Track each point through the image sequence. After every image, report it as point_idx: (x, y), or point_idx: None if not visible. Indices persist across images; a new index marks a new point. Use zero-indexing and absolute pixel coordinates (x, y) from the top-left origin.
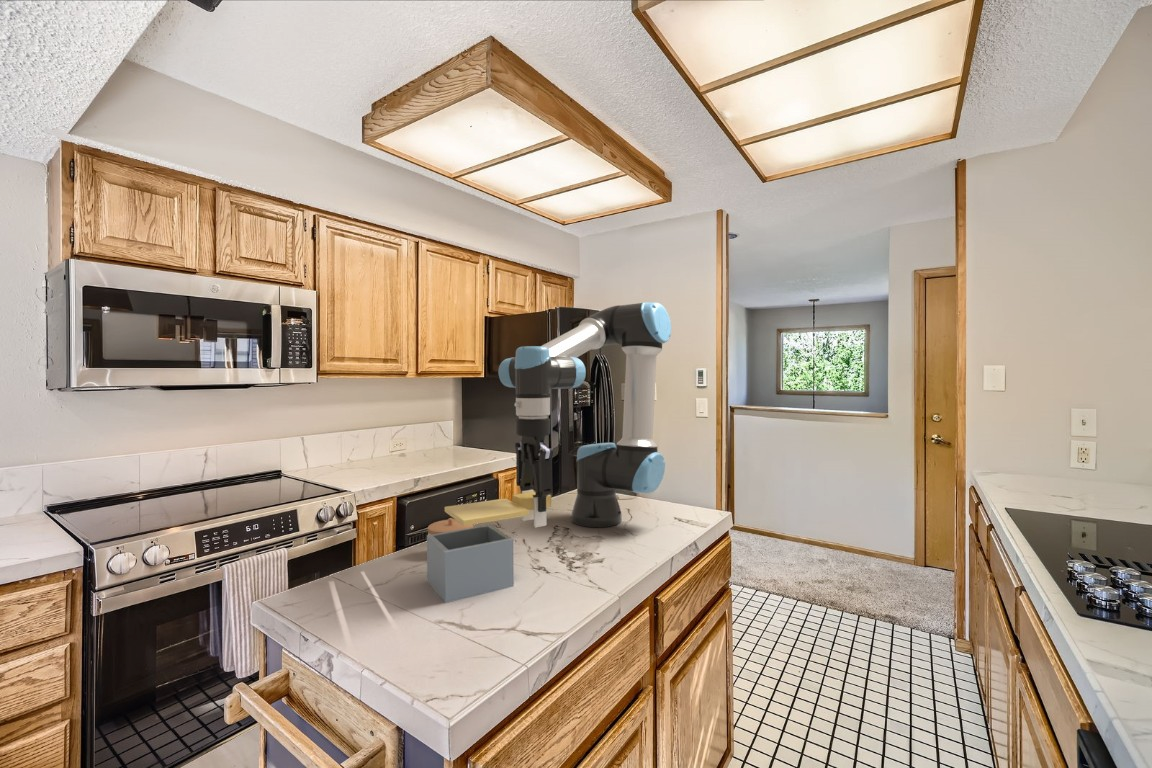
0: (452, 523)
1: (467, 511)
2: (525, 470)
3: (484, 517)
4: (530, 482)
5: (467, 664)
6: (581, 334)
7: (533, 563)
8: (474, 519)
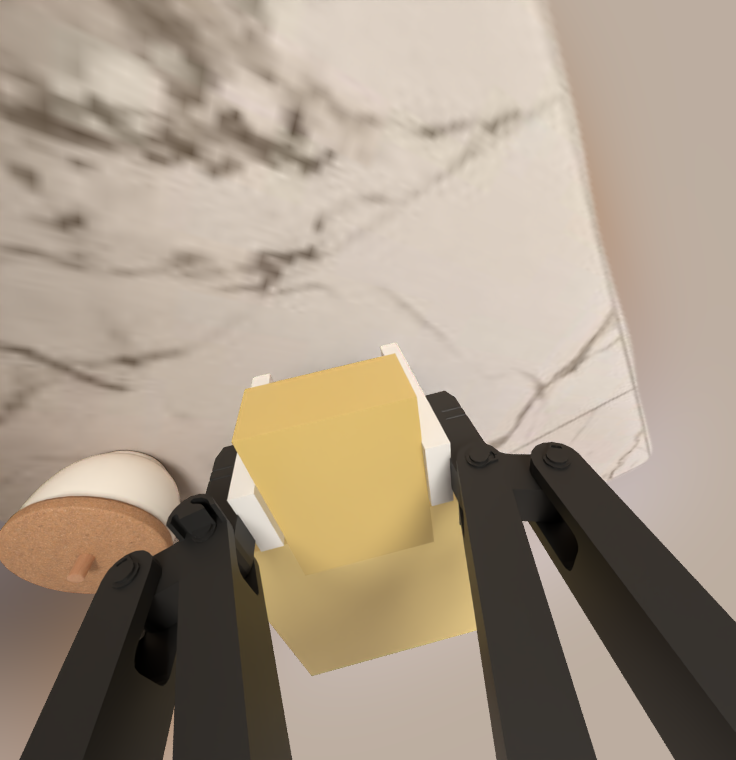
0: (85, 558)
1: (399, 632)
2: (288, 754)
3: None
4: (239, 573)
5: (582, 446)
6: None
7: (220, 279)
8: None
